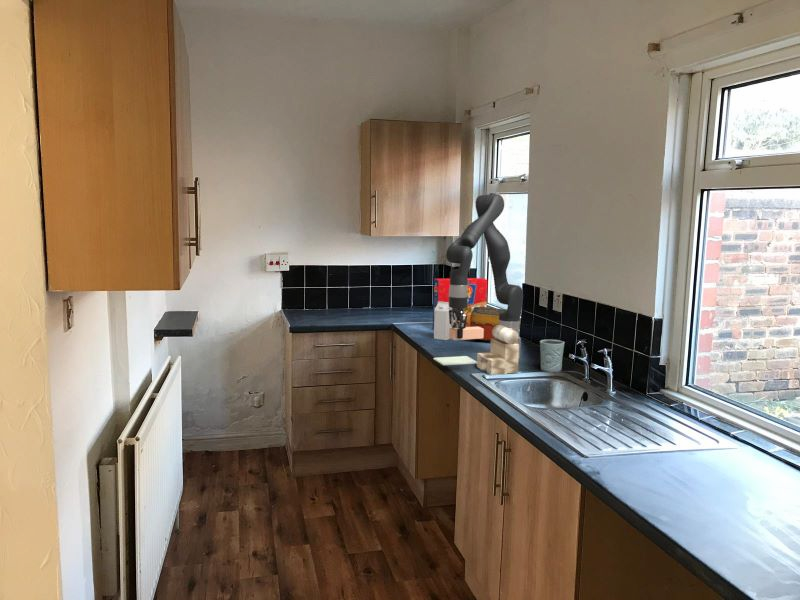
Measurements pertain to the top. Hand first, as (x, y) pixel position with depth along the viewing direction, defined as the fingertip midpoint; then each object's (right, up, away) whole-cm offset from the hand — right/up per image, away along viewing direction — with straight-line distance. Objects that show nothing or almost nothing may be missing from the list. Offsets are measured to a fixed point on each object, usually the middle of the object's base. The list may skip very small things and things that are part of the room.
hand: (457, 336), depth 274 cm
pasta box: (+9, -2, +98) cm, 98 cm away
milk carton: (-1, -5, +72) cm, 72 cm away
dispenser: (+17, -14, +8) cm, 24 cm away
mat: (+1, -12, +22) cm, 25 cm away
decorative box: (+22, -6, +71) cm, 74 cm away
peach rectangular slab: (+4, -1, +1) cm, 4 cm away
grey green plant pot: (+40, -15, +11) cm, 44 cm away
